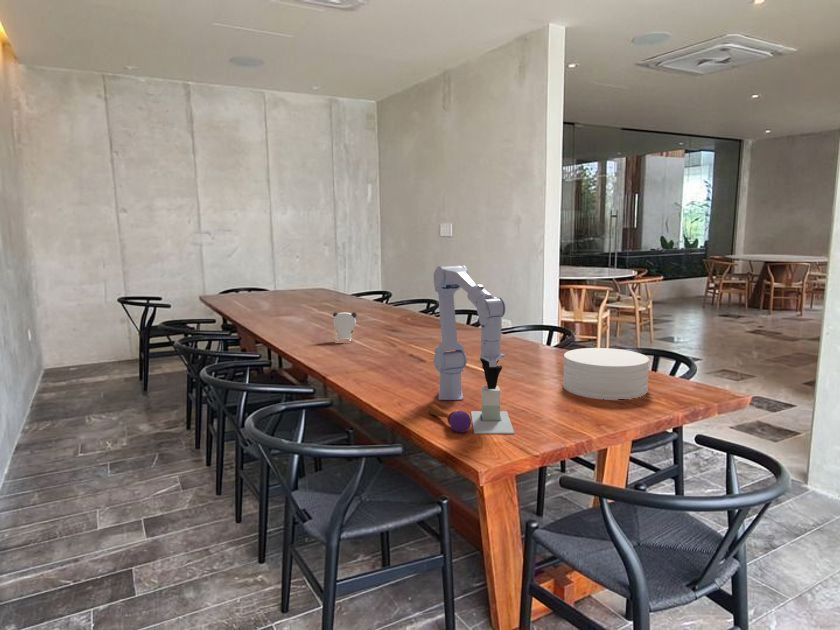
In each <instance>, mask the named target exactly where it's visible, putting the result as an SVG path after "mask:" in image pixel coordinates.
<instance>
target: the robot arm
mask: <svg viewBox="0 0 840 630" xmlns="http://www.w3.org/2000/svg"><path fill="white" fill-rule="evenodd" d="M433 285H434V286H433V287H434V291H435V292H436V293H437V296H438V308H439V318H440V319H439V320H440V331H441V332H440V333H441V343H440V344H439V345H437V346H436V348H435V349H434V356H433V357H434V358H433V363H434V367H435V369H436V370H437V371H438V372H439V390H438V401H463V400H464V395H463V390H462V372H464V369H465V367H467V363H468V359H467V358H468V357H467V354H466V351H465V347H464V345H462V344H461V343H460V342H459V341H458V334H457V333H458V332H457V324H456V323H457V322H456V320H457V319H456V309H455V298H454V295H455V293H456V292H457V291H459V290H460V289H462V290H463V291H465V292H466V293H467V295H466V296H467V299H468V300H469V301H470V302H471V303H472V305H473V306H474V307H475V308H476V313H477V315H478V321H479V325H480V355H479V357H480V358H479V360H480V362H481V366H482V369H483V373H484V378H485V379H484V380H485V383H486V386H488V389H496V386H498V380H499V376H500V373H501V371H502V369H503V365H498V364H499V361H500V359H501V358H505V357H506V354H505V353H501V351H502V346H501V345H502V318H503V317H504V316H505V313H506V303H505V301H504V300H503V298H502V297H500V296H499V297H496V296H493V295H492V294H491V293H490V292H489V291H488V290H487V289H486V288H485V286H484V285H483V284H476V283H475V281H473V278H471V277H470V273H469V269H468V268H467V267H466V265H464V264H460V265H445V266H442V265H440V266H437V267H435V270H434V272H433Z"/></svg>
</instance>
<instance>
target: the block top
mask: <svg viewBox="0 0 840 630" xmlns="http://www.w3.org/2000/svg"><path fill="white" fill-rule="evenodd" d="M482 404H483V406H500V407H501V388H500V386H499V385H496V389H488V386H487V385H482V386H481V405H482Z"/></svg>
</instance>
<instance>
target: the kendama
mask: <svg viewBox="0 0 840 630" xmlns="http://www.w3.org/2000/svg"><path fill="white" fill-rule="evenodd" d="M426 412H427V413H428V414H429V415H432V416H437V417H441V418H445V419H447V423H448V424H449V425H450V427H451V430H452V431H454V432H456V433H466V431H468V430H469V429H470V428H471V425H472V418H471V415H469V414H468V413H467V412H466V411H463V410H457V411H452V412H450V413H448V412H446V411H445V410H443V409H442V408H440V407H439V406H438V405H436V404H435V403H430V404H428V405H427V408H426Z"/></svg>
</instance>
